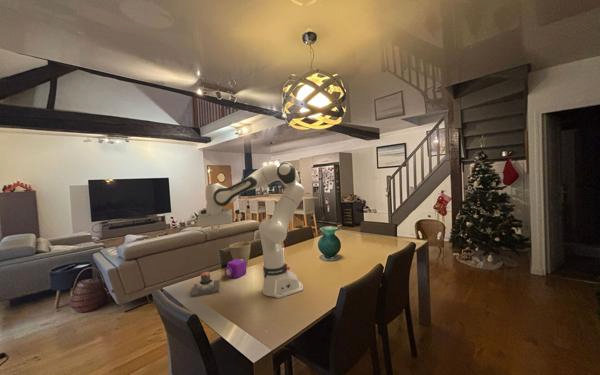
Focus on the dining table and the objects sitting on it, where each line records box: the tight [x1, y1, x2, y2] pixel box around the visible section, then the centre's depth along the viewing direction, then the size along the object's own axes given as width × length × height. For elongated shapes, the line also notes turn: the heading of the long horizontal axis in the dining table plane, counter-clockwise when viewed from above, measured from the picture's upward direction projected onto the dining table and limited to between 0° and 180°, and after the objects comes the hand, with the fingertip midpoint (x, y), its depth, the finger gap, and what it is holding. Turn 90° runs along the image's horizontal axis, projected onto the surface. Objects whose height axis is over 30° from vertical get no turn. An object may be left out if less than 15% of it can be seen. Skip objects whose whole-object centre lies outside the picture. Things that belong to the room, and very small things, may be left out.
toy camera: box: [224, 259, 247, 279], centre depth 158 cm, size 11×14×10 cm
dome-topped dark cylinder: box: [200, 271, 211, 284], centre depth 141 cm, size 5×5×8 cm
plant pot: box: [229, 241, 252, 267], centre depth 176 cm, size 15×15×16 cm
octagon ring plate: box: [191, 277, 220, 298], centre depth 141 cm, size 14×14×4 cm
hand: (215, 232), depth 149 cm, fingers closed
